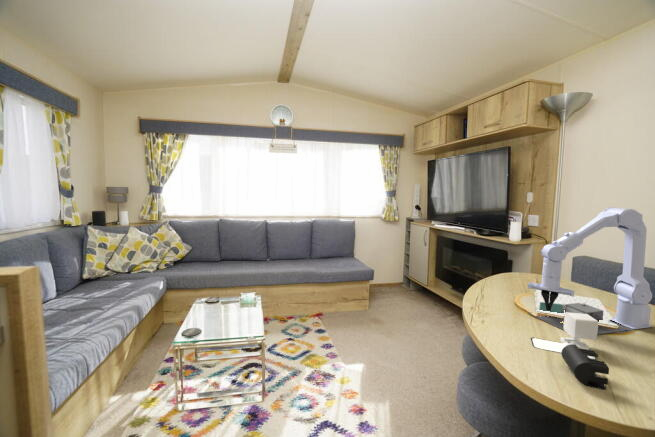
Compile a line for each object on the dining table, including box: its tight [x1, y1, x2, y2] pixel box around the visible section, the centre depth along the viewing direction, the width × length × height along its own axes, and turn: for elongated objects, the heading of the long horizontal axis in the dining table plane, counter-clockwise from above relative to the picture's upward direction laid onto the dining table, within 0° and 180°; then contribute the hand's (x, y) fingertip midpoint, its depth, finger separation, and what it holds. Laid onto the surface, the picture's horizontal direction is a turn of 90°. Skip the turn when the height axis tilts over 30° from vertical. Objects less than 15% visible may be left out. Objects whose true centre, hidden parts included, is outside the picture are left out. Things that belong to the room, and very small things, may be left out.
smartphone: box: [530, 337, 598, 360], centre depth 97 cm, size 8×1×16 cm
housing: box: [564, 302, 604, 322], centre depth 116 cm, size 8×9×6 cm
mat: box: [527, 312, 632, 336], centre depth 116 cm, size 24×20×1 cm
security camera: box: [560, 312, 598, 350], centre depth 98 cm, size 6×7×10 cm
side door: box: [538, 301, 565, 313], centre depth 121 cm, size 2×8×5 cm, turn 74°
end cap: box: [560, 344, 610, 391], centre depth 82 cm, size 10×7×7 cm
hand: (548, 309), depth 119 cm, fingers closed
